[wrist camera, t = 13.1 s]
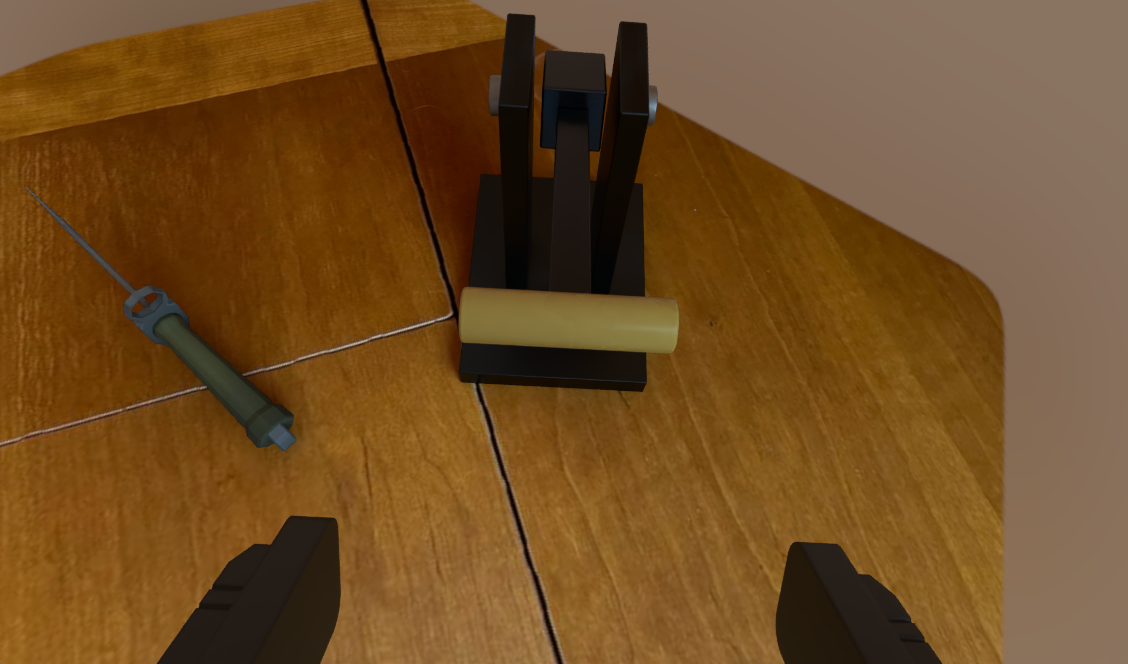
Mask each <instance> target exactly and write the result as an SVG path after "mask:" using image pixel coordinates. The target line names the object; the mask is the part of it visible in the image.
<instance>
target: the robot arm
mask: <svg viewBox="0 0 1128 664" xmlns="http://www.w3.org/2000/svg"><path fill="white" fill-rule="evenodd" d="M340 597H341V586H340V562H339V537H338V524H337V521H336V519H335V518H327V517H307V516H290V517H289V518H288V519H287V520H286V522H285V523H284V525H283V527H282V528H281V530H280V531H279V533H278V534H277V536H276V537H275V539H274V541H273V542H272V544H271V545H266V544H254V545H252V546H251V547H249V548H248V549H247V550H245V551H244V552H242V553H241V554H240V555H238V556H237V557H235V558H234V559H233V560H231V561H230V562H228V564H227V565H226V567H225V568H224V570H223V571H222V572H221V574H220V575H219V577H218V578H217V579H216V581H215V582H214V584H213V587H212V589H209V591H208V592H207V594H206V595H205V596H204V598H203V599H202V601H201V602H200V603H199V608H196V609H195V610H194V612H193V613H192V615H191V616H190V618H189V619H188V620H187V622H186V623H185V625H184V626H183V627H182V629H181V630H180V632H179V633H178V634H177V636H176V637H175V639H174V640H173V642H172V643H171V644H170V646H169V647H168V649H167V650H166V651H165V653H164V654H163V656H162V657H161V658H160V660H159V661H158V663H157V664H320V663H321V660H322V658H323V656H324V653H325V651H326V648H327V646H328V644H329V641H330V639H331V636H332V634H333V632H334V629H335V626H336V622H337V618H338V613H339V607H340ZM776 636H777V642H778V646H779V650H780V653H781V655H782V658H783V660H784V663H785V664H942V663H941V661H940V660H939V658H938V657H937V655H936V654H935V652H934V651H933V650H932V648H931V647H930V645H929V644H928V643H925V641H924V637H923V635H922V634H921V632H920V631H919V629H918V628H917V626H916V625H915V623H911V618H910V616H909V615H908V613H907V612H906V610H905V609H904V608H903V606H902V605H901V603H900V602H899V600H898V599H897V597H896V596H895V595H894V594H893V593H892V592H890V591H889V590H888V589H887V588H885V587H884V586H883V585H882V584H880V583H879V582H878V581H877V580H875V579H874V578H873V577H872V576H870V575H863V574H858V573H857V571H856V570H855V568H854V567H853V565H852V564H851V562H850V560H849V559H848V557H847V556H846V554H845V553H844V551H843V550H842V548H841V547H840V546H839V545H837V544H828V543H808V542H794V543H792V545H791V546H790V548H789V552H788V556H787V561H786V566H785V571H784V576H783V582H782V587H781V592H780V597H779V602H778V607H777V613H776Z"/></svg>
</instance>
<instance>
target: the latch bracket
mask: <svg viewBox="0 0 1128 664" xmlns="http://www.w3.org/2000/svg"><path fill="white" fill-rule="evenodd" d="M534 65H535V16H534V15H525V14H508V15H507V23H506V33H505V43H504V53H503V62H502V72H501V76H499V75H491V77H490V83H489V114H490V115H491V116H499V137H500V161H501V175H491V174H481V177H480V186H479V195H478V204H477V213H476V222H475V231H474V240H473V249H472V259H471V268H470V277H469V286H468V287H480V288H497V289H515V290H533V291H548V288H549V267H550V247H551V226H552V205H553V184H554V178H540V177H532V168H533V117H534ZM656 110H657V87H656V86H650V85H649V73H648V37H647V24H646V23H638V22H624V21H622V22H620V24H619V30H618V36H617V43H616V50H615V57H614V64H613V71H612V77H611V84H610V91H609V97H608V104H607V111H606V118H605V125H604V131H603V138H602V145H601V152H600V159H599V165H598V172H597V179H596V181H590V249H591V294H604V295H622V296H640V297H645V274H644V226H643V185H642V184H638V183H634V182H635V178H636V174H637V169H638V165H639V160H640V156H641V151H642V147H643V142H644V138H645V133H646V129H647V126H652V125H653V124H654V121H655V116H656ZM459 375H460V380H461V382H464V383H484V384H503V385H522V386H542V387H561V388H580V389H600V390H619V391H639V392H643V390H644V388H645V385H646V383H647V370H646V352H629V351H611V350H592V349H573V348H555V347H536V346H517V345H499V344H480V343H463V342H462V349H461V358H460V367H459Z"/></svg>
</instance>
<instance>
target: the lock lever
mask: <svg viewBox="0 0 1128 664" xmlns="http://www.w3.org/2000/svg"><path fill="white" fill-rule="evenodd" d="M605 66H606V65H605V55H604V54H596V53H583V52H568V51H553V50H546V52H545V60H544V73H543V86H542V108H541V133H540V147H541V148H548V149H555V163H554V184H553V205H552V226H551V247H550V267H549V288H548V291H533V290H515V289H497V288H480V287H465V288H463V290H462V293H461V298H460V306H459V337H460V340H461V342H463V343H480V344H499V345H517V346H536V347H555V348H573V349H592V350H611V351H629V352H648V353H667V354H670V353H672V352H673V351H674V349H675V347H676V343H677V338H678V330H679V310H678V305H677V302H676V300H675V299H673V298H658V297H640V296H622V295H604V294H591V249H590V157H589V151H596V152H598V151H600V148H601V139H602V130H603V121H604V113H605V104H606V95H607V87H606V67H605Z"/></svg>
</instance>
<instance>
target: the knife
mask: <svg viewBox="0 0 1128 664" xmlns="http://www.w3.org/2000/svg"><path fill="white" fill-rule="evenodd" d="M25 187H26V186H25ZM26 188H27V187H26ZM27 190H28V191H29V192H30V193H31V194H32V195H33V196H34V197H35V198H36V199H37V200H38V201H39V203H40V204H41V205H42V206H43V207H44V208H45V209H46V210H47V211H48V212H49V213H50V215H51V216H52V217H53V218H54V219H55V220H56V221H57V222H58V223H59V224H60V225H61V226H62V227H63V228H64V229H65V230H66V231H67V232H68V233H69V234H70V235H71V236H72V237H73V238H74V239H75V240H76V241H77V242H78V243H79V244H80V245H81V246H82V247H83V248H84V249H85V250H86V251H87V252H88V253H89V254H90V255H91V256H92V257H93V258H94V259H95V260H96V261H97V262H98V263H99V264H100V265H101V266H102V267H104V268H105V269H106V270H107V271H108V272H109V273H110V274H111V275H112V276H113V277H114V278H115V279H116V280H117V281H118V282H119V283H120V284H121V285H122V286H123V287H124V288H125V289H126V290H127V291H128V292H129V293H130V294H131V296H130V297H129V298H128V299H127V300H126V301H125V302H124V314H125V316H127V317H128V318H129V319H130V320H132V321H135V323H134V324H135V325H136V326H137V327H138V328H139V329H140V330H141V331H142V332H144V333H145V334H146V335H147V336H148V337H149V338H150V339H151V340H152V341H154V342H155V343H156V344H163V345H168V346H169V347H170V348H171V349H172V350H173V351H174V352H175V353H176V354H177V355H178V357H179V358H180V359H181V360H182V361H183V362H184V363H185V364H186V365H187V366H188V367H189V368H190V370H191V371H192V372H193V373H194V374H195V375H196V376H197V377H198V378H199V379H200V380H201V381H202V382H203V384H204V385H205V386H206V387H207V388H208V389H209V390H210V391H211V392H212V393H213V394H214V395H215V396H216V398H217V399H218V400H219V401H220V402H221V403H222V404H223V405H224V406H225V407H226V408H227V409H228V411H229V412H230V413H231V414H232V415H233V416H234V417H235V418H236V419H237V420H238V421H239V422H240V423H241V425H242V426H244V427H245V428H246V432H247V436H248V437H249V439H250V440H251V441H252V442H253V443H254V444H255V445H256V447H257V448H261V447H267V446H270V445H271V444H273V443H275V444H276V445H277V446H278V447H279V448H280V449H281V450H282V451H285V450H287V449H288V448H289V447H290V446H291V445H292V444H293V443H294V442H295V441H296V437H295V436H294V435H293V434H292V433H291V432H290V431H289V430H288V429H289V428H290V427H291V426H292V423H293V418H294V415H293V414H292V413H290V412H289V411H288V410H287V409H286V408H285V407H283V406H282V405H278V404H274V403H273V402H272V401H271V400H270V399H269V398H268V397H267V396H266V395H265V394H263V393H262V392H261V391H260V390H259V389H258V388H257V387H255V386H254V385H253V384H252V383H251V382H250V381H249V380H248V379H246V378H245V377H244V376H243V375H242V374H241V373H240V372H239V371H237V370H236V369H235V368H234V367H233V366H232V365H231V364H230V363H228V362H227V361H226V360H225V359H224V358H223V357H222V356H221V355H219V354H218V353H217V352H216V351H215V350H214V349H213V348H211V347H210V346H209V345H208V344H207V343H206V342H205V341H204V340H202V339H201V338H200V337H199V336H198V335H197V334H196V333H195V332H193V331H192V330H191V329H190V328H189V317H188V316H187V315H186V314H185V313H184V312H183V311H182V310H181V309H180V307H179V306H178V305H177V304H176V303H175V302H174V301H173V300H172V299H171V298H170V297H168V298H167V294H166V292H165V291H164V290H163V289H162V288H160V287H155V286H150V285H148V286H146V287H143V288H141V289H139V290H137V291H136V290H135V289H134V288H133V287H132V286H131V285H130V284H129V283H128V282H127V281H126V280H125V279H124V278H123V277H122V276H121V275H120V274H119V273H118V272H117V271H116V270H115V269H114V268H113V267H112V266H111V265H110V264H109V263H108V262H107V261H106V260H105V259H104V258H103V257H102V256H101V255H100V254H99V253H98V252H96V251H95V250H94V249H93V248H92V247H91V246H90V245H89V244H88V243H87V242H86V241H85V240H84V239H83V238H82V237H81V236H80V235H79V234H78V233H77V232H76V231H75V230H74V229H73V228H72V227H71V226H70V225H69V224H68V223H67V222H66V221H65V220H63V219H62V218H61V217H60V216H59V215H58V214H57V213H55V212H54V211H53V210H52V209H51V208H50V207H49V206H47V205H46V204H45V203H44V202H43V201H42V200H41V199H39V198H38V197H37V196H36V195H35V194H34V193H33V192H31V191H30V190H29V189H28V188H27ZM153 292H154V293H157V298H156V299H155V300H154V301H153V303H152V304H150V303H149V302H148V301H147V300H146V299H145V298H144V296H147V295H149V294H151V293H153ZM137 302H139V303H140V304H141V305H142V306H143V307H144V308H145V309H143V310H141V311H139V312H137V313H134V312H132V307H133V306H134V305H135V304H136V303H137Z"/></svg>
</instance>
